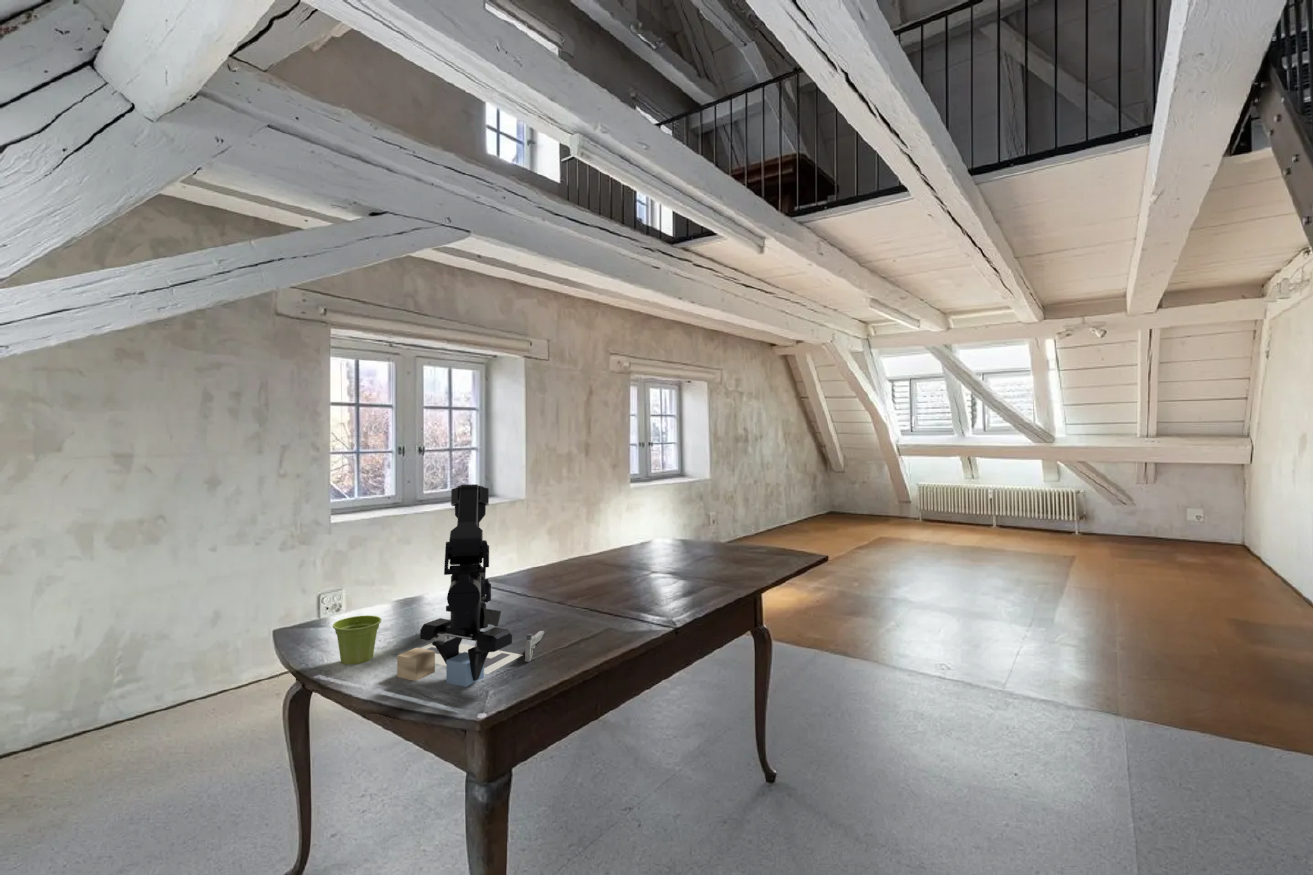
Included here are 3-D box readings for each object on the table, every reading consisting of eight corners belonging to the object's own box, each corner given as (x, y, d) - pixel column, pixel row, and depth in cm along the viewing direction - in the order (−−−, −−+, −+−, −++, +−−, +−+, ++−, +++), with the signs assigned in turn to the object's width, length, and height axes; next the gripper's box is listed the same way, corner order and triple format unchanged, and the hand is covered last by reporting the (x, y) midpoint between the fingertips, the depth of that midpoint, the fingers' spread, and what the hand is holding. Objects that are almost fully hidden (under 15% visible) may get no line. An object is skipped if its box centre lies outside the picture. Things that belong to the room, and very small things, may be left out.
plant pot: (387, 662, 128) (388, 621, 128) (340, 674, 121) (340, 631, 121) (372, 651, 135) (372, 612, 135) (326, 661, 128) (326, 621, 128)
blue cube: (464, 676, 120) (464, 651, 120) (483, 680, 118) (484, 655, 118) (446, 685, 116) (446, 660, 116) (466, 690, 114) (466, 664, 114)
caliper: (530, 666, 127) (530, 636, 127) (525, 666, 127) (525, 636, 127) (544, 634, 147) (544, 609, 147) (540, 634, 147) (540, 609, 147)
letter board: (440, 642, 141) (440, 639, 141) (523, 657, 131) (523, 654, 131) (399, 658, 130) (399, 656, 130) (486, 677, 120) (486, 674, 120)
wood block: (416, 671, 123) (416, 647, 123) (434, 675, 121) (434, 650, 121) (397, 680, 119) (397, 655, 119) (415, 684, 117) (416, 659, 117)
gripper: (529, 594, 121) (528, 671, 121) (458, 584, 128) (457, 657, 128) (493, 608, 111) (492, 692, 111) (418, 597, 118) (417, 675, 118)
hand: (465, 677), depth 117 cm, fingers closed on blue cube, 5 cm apart
